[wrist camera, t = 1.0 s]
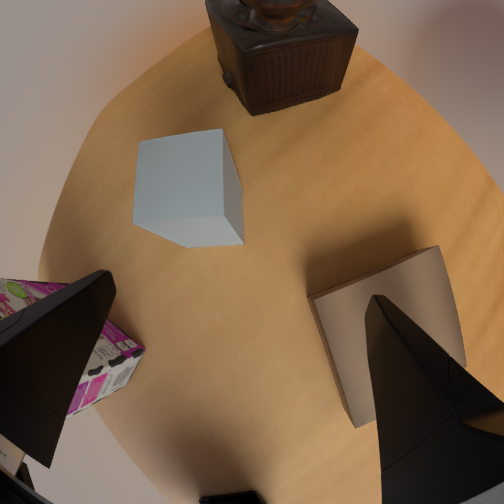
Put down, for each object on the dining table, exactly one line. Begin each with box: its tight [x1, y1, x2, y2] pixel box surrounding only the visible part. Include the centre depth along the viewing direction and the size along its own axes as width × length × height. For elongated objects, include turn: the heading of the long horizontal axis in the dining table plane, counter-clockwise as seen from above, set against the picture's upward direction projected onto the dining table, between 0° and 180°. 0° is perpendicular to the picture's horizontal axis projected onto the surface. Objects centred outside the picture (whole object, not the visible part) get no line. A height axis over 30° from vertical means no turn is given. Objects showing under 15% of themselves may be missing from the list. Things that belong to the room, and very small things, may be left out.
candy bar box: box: [0, 278, 145, 420], centre depth 16 cm, size 11×5×16 cm, turn 59°
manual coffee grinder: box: [205, 0, 359, 116], centre depth 16 cm, size 16×11×18 cm
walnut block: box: [307, 245, 467, 429], centre depth 20 cm, size 11×11×4 cm
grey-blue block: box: [133, 128, 244, 248], centre depth 19 cm, size 5×5×10 cm
